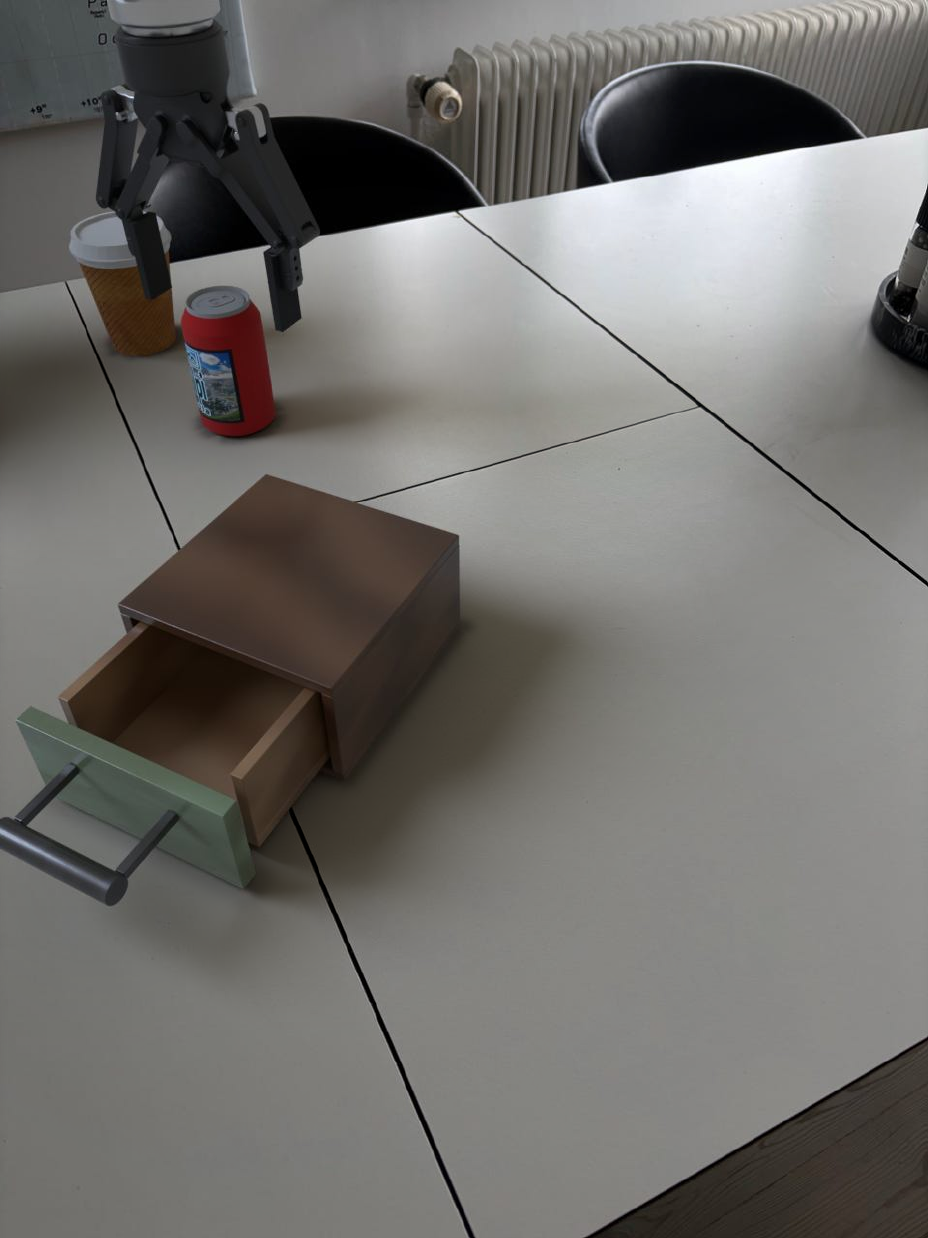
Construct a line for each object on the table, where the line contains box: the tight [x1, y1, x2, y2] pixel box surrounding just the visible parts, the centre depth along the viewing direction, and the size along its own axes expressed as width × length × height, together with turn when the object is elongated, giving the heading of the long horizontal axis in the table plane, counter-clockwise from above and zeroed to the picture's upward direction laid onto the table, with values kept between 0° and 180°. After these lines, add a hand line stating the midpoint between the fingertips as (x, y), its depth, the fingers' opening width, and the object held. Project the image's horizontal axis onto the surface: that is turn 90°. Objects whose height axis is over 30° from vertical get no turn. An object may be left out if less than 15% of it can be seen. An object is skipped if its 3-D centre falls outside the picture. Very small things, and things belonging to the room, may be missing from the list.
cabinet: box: [117, 473, 461, 781], centre depth 67 cm, size 16×16×9 cm
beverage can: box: [180, 285, 276, 437], centre depth 88 cm, size 7×7×12 cm
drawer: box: [0, 621, 331, 907], centre depth 59 cm, size 20×14×7 cm
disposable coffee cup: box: [68, 211, 177, 357], centre depth 100 cm, size 10×10×12 cm
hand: (222, 308), depth 85 cm, fingers open, 13 cm apart
